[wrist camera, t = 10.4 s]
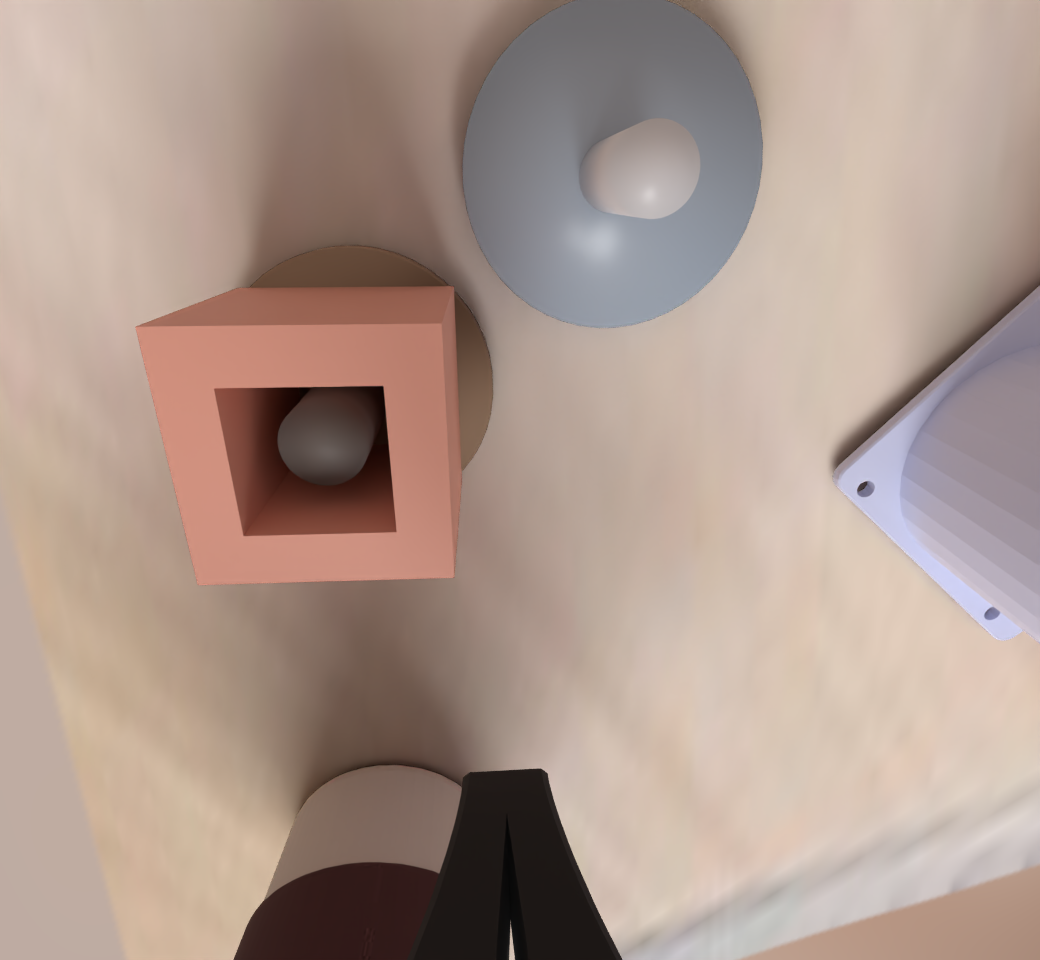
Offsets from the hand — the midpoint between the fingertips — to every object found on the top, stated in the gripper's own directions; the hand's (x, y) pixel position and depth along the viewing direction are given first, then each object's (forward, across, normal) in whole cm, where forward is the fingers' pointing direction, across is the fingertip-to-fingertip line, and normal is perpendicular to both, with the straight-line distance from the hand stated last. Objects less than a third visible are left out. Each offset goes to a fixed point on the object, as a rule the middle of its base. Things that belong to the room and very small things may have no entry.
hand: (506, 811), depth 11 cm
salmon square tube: (+9, +4, -5) cm, 11 cm away
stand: (+9, -3, -10) cm, 14 cm away
